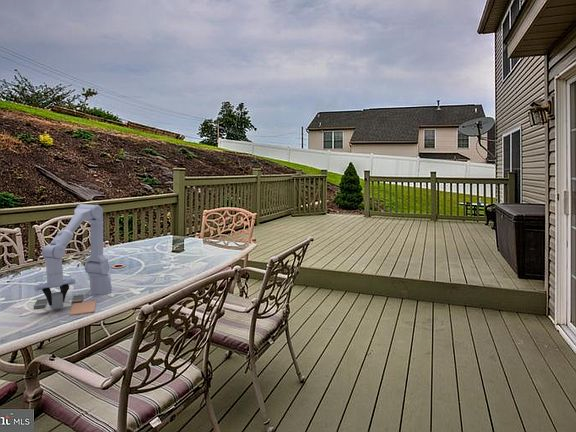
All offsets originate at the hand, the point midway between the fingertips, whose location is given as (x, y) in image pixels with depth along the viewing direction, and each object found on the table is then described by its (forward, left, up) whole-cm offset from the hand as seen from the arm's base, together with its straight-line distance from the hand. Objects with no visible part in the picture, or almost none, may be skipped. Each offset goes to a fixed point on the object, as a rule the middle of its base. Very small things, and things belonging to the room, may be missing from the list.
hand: (56, 303), depth 152 cm
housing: (0, -9, -3) cm, 9 cm away
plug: (+1, -2, -2) cm, 3 cm away
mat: (-10, +2, -3) cm, 11 cm away
